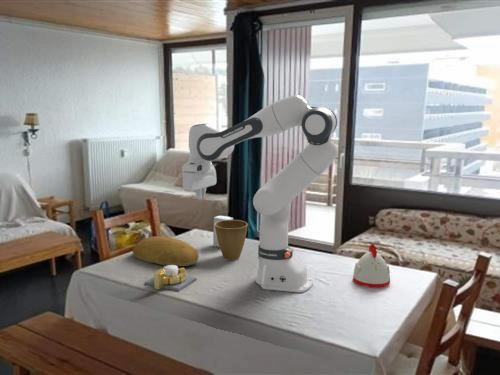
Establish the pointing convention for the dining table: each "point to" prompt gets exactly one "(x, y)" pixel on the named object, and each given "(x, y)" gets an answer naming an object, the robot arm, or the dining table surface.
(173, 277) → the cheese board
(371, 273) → the white knit hat
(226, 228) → the plant pot
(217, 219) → the skincare box
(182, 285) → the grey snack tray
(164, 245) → the bread
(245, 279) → the dining table surface
